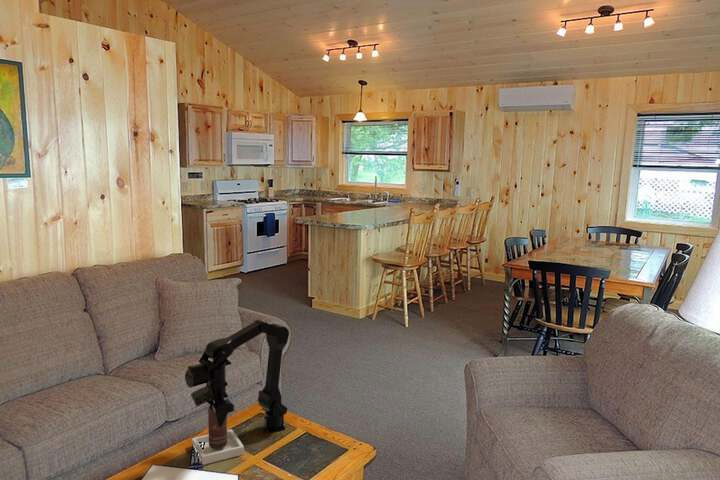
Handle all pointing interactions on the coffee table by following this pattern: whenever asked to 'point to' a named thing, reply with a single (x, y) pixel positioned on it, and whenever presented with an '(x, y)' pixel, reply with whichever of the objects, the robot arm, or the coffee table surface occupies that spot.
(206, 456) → the tray
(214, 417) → the can
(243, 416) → the coffee table surface
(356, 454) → the coffee table surface
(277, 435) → the coffee table surface
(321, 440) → the coffee table surface
